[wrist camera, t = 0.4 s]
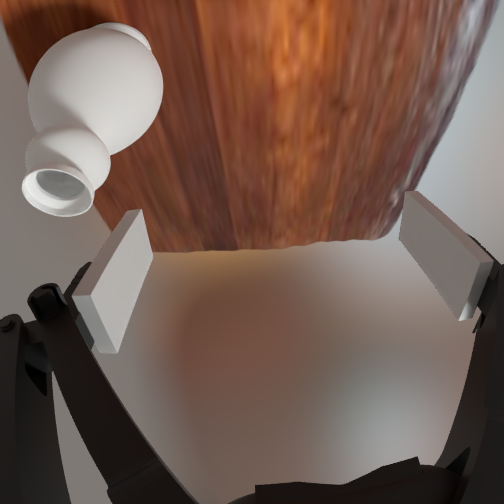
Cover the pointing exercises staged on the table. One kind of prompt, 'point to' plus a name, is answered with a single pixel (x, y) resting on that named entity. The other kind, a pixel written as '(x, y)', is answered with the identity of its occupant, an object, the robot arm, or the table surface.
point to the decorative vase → (87, 113)
